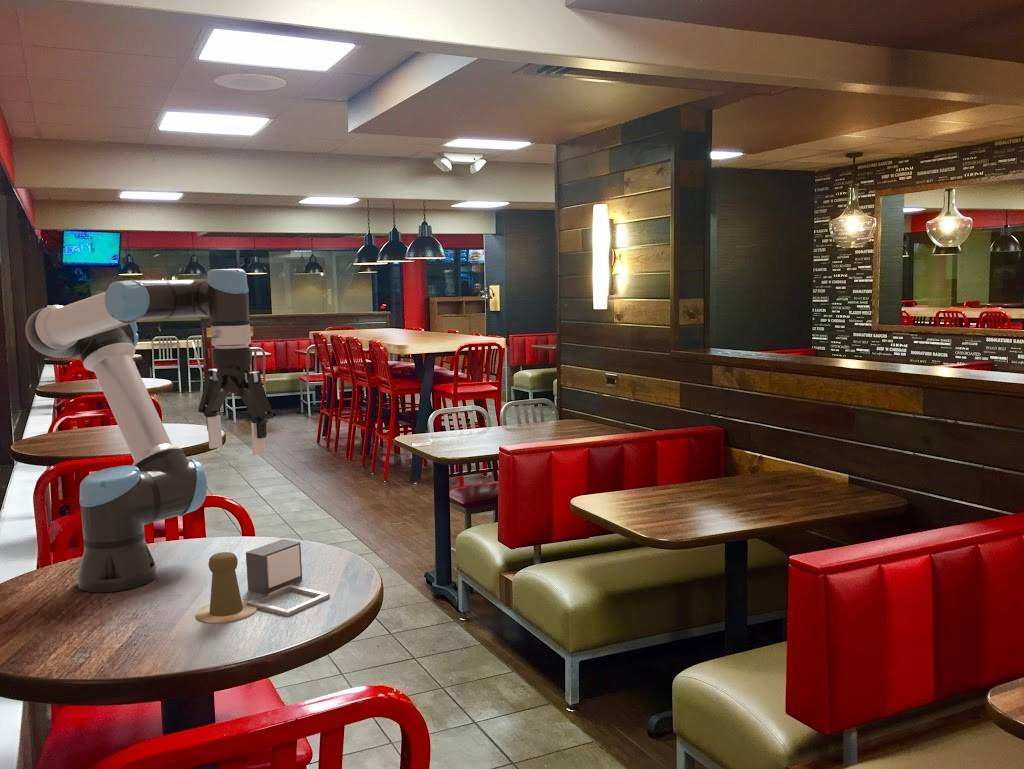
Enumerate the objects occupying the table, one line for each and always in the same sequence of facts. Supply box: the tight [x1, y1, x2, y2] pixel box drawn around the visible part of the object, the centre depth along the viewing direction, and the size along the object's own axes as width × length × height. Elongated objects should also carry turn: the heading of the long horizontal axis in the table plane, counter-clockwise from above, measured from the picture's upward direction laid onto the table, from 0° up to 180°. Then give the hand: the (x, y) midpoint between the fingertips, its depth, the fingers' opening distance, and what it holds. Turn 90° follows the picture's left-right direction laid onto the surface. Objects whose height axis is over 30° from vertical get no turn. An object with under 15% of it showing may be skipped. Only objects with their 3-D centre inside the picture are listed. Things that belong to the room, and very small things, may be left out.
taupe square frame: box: [247, 584, 331, 617], centre depth 171 cm, size 11×11×1 cm
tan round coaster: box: [195, 599, 258, 624], centre depth 166 cm, size 11×11×1 cm
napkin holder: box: [245, 538, 303, 595], centre depth 180 cm, size 5×10×8 cm, turn 148°
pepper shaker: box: [208, 551, 243, 616], centre depth 166 cm, size 6×6×11 cm
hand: (237, 451), depth 180 cm, fingers open, 13 cm apart
